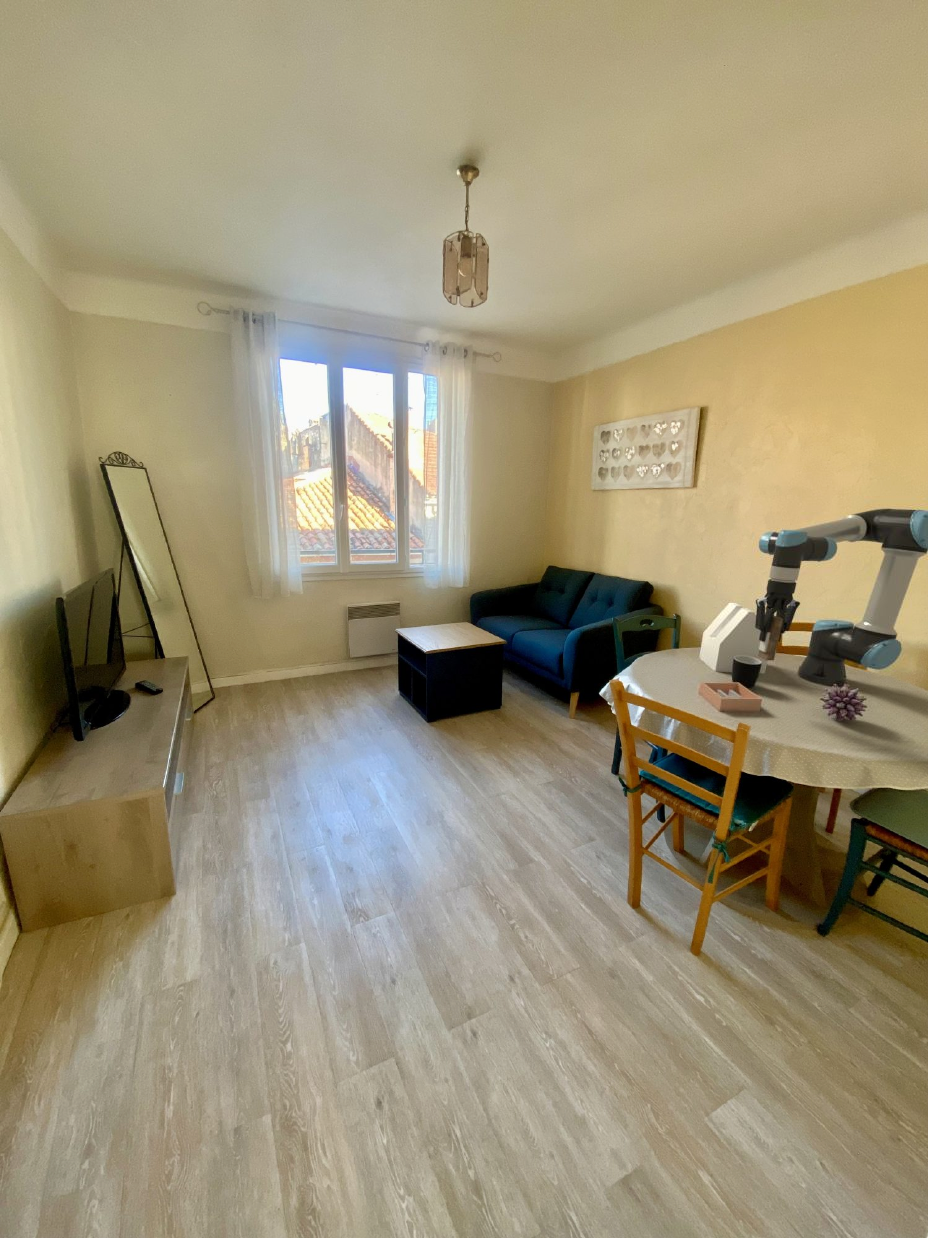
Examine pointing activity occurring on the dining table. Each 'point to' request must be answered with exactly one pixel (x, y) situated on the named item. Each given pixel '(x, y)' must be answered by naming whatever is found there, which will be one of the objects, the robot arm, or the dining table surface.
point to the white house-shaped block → (731, 639)
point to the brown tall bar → (772, 639)
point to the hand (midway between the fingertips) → (767, 650)
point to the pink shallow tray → (730, 696)
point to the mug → (746, 670)
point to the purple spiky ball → (843, 702)
